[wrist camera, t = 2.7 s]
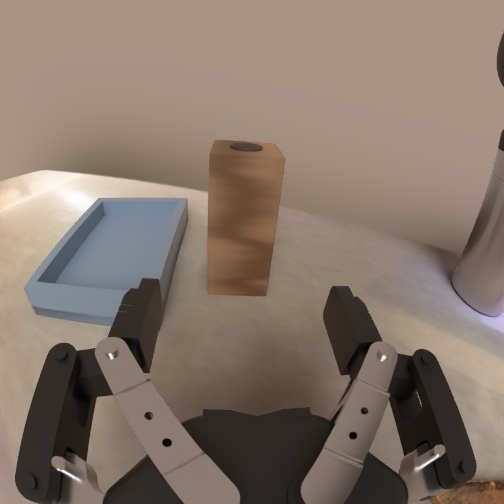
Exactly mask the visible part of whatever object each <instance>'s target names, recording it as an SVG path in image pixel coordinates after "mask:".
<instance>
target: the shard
mask: <svg viewBox="0 0 504 504" xmlns="http://www.w3.org/2000/svg"><path fill="white" fill-rule="evenodd" d="M431 500H432V502H433V503H434V504H504V481H503V482H502V481H468V482H466V483H464V484H462V485H460V486H458V487H455V488H453V489H451V490H449V491H447V492H444V493H442V494H440V495H437V496H435V497H432V498H431Z"/></svg>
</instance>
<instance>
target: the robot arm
mask: <svg viewBox="0 0 504 504" xmlns="http://www.w3.org/2000/svg"><path fill="white" fill-rule="evenodd" d="M497 71H498V76H499V78H500V81H501V83H502V85H503V87H504V33H503V35H502V38H501V41H500V44H499V48H498V54H497ZM498 147H499V149H498V150H497V155H496V159H495V163H494V166H493V170H492V174H491V177H490V181H489V184H488V187H487V191H486V194H485V197H484V200H483V203H482V206H481V208H480V211H479V214H478V217H477V219H476V222H475V224H474V227H473V230H472V232H471V234H470V237H469V239H468V242H467V244H466V246H465V249H464V251H463V253H462V255H461V258H460V260H459V262H458V264H457V266H456V268H455V270H454V272H453V274H452V278H451V280H452V284H453V286H454V288H455V290H456V291H457V293H458V294H459V295H460V296H461V298H462V299H463V300H464V301H466V302H467V303H468V304H469V305H470V306H471V307H473V308H474V309H476V310H477V311H479V312H481V313H483V314H486V315H489V316H499V315H501V314H502V313H503V311H504V130H503V131H502V133H501V137H500V141H499V146H498ZM162 311H163V305H162V297H161V290H160V283H159V279H154V278H142V279H141V282H140V284H139V287H138V289H137V288H131V289H130V290H129V291H128V292H127V293H126V294H125V295H124V296H123V299H122V301H121V305H120V306H119V309H118V312H117V314H116V317H115V319H114V322H113V324H112V327H111V330H110V332H109V335H108V338H105V339H103V340H102V341H100V342H99V343H98V345H97V346H96V348H93V349H87V350H80V351H76V349H75V348H74V347H73V346H72V345H71V344H69V343H60V344H57V345H55V346H54V347H52V348H51V349H50V351H49V353H48V355H47V358H46V360H45V363H44V366H43V369H42V371H41V374H40V377H39V380H38V383H37V386H36V389H35V392H34V396H33V399H32V402H31V406H30V409H29V413H28V416H27V420H26V424H25V428H24V432H23V437H22V441H21V446H20V451H19V456H18V461H17V467H16V474H15V482H16V486H17V488H18V490H19V492H20V493H21V494H22V495H23V496H24V497H25V498H26V499H28V500H30V501H33V502H35V503H38V504H409V503H412V502H414V501H417V500H421V501H424V500H427V499H430V498H432V497H435V496H437V495H440V494H442V493H444V492H447V491H449V490H451V489H453V488H455V487H458V486H460V485H462V484H464V483H466V482H468V481H469V480H471V479H472V478H473V476H474V474H475V472H476V460H475V457H474V453H473V450H472V447H471V444H470V441H469V438H468V435H467V432H466V429H465V426H464V423H463V421H462V418H461V415H460V413H459V410H458V407H457V405H456V402H455V400H454V397H453V395H452V393H451V390H450V388H449V385H448V383H447V381H446V378H445V376H444V374H443V372H442V369H441V367H440V365H439V363H438V361H437V359H436V357H435V356H434V355H433V354H432V353H431V352H430V351H428V350H425V349H419V350H417V351H416V352H415V353H414V354H413V355H412V356H408V355H403V354H398V353H397V352H396V350H395V349H394V348H393V347H392V346H391V345H390V344H388V343H386V342H383V341H382V339H381V337H380V334H379V332H378V330H377V328H376V326H375V324H374V322H373V320H372V318H371V316H370V314H369V313H368V312H369V311H368V309H367V307H366V305H365V304H364V303H363V302H362V301H361V300H360V299H359V298H358V297H354V296H353V294H352V292H351V290H350V288H349V287H348V286H333V287H332V288H331V290H330V293H329V296H328V299H327V302H326V305H325V308H324V312H323V319H324V324H325V327H326V330H327V333H328V336H329V339H330V342H331V345H332V348H333V352H334V355H335V358H336V361H337V365H338V368H339V371H340V374H341V375H350V378H351V379H350V380H349V382H348V384H347V386H346V388H345V390H344V392H343V394H342V396H341V398H340V400H339V402H338V404H337V406H336V407H335V409H334V411H333V413H332V414H331V416H330V417H329V419H328V420H327V419H325V418H323V417H320V416H317V415H313V414H310V409H309V407H307V408H295V409H283V410H280V411H276V412H273V413H269V414H265V415H261V416H254V415H249V414H244V413H240V412H236V411H231V410H209V409H203V416H198V417H195V418H191V419H189V420H187V421H185V422H183V423H180V422H179V421H178V419H177V418H176V417H175V415H174V414H173V412H172V411H171V410H170V408H169V407H168V405H167V404H166V403H165V401H164V400H163V398H162V397H161V395H160V394H159V392H158V391H157V389H156V388H155V386H154V385H153V383H152V382H151V381H150V380H149V379H147V378H146V376H145V375H144V373H150V369H151V364H152V359H153V354H154V349H155V345H156V340H157V335H158V331H159V327H160V322H161V318H162ZM416 392H418V395H419V398H420V400H421V403H422V407H421V404H420V401H419V398H418V396H417V393H416ZM108 395H114V397H115V399H116V401H117V403H118V405H119V407H120V409H121V411H122V413H123V414H124V416H125V418H126V420H127V421H128V423H129V425H130V427H131V428H132V430H133V432H134V433H135V435H136V437H137V438H138V440H139V441H140V443H141V445H142V446H143V448H144V449H145V451H146V452H147V455H146V456H145V457H144V458H143V459H142V460H141V461H140V462H139V463H137V464H136V465H135V466H134V467H133V468H132V469H131V470H130V471H129V472H127V473H126V474H125V475H124V476H123V477H122V478H121V479H120V480H118V481H117V482H116V483H115V484H114V485H113V486H111V487H110V488H109V490H108V491H107V492H106V494H104V493H103V492H102V491H101V489H100V487H99V485H98V480H97V474H96V472H95V470H94V468H93V467H92V466H91V465H90V464H88V463H87V462H86V460H87V452H88V445H89V438H90V431H91V425H92V419H93V414H94V408H95V403H96V398H97V397H100V396H108ZM388 400H389V401H390V405H391V408H392V411H393V415H394V418H395V422H396V426H397V429H398V433H399V437H400V441H401V445H402V449H403V453H404V458H403V459H402V461H401V465H400V469H399V474H397V473H396V472H395V471H393V470H392V469H391V468H389V467H388V466H387V465H385V464H384V463H383V462H381V461H380V460H379V459H377V458H376V457H375V456H374V455H372V454H371V453H370V452H368V451H369V448H370V446H371V444H372V442H373V439H374V437H375V434H376V432H377V429H378V427H379V424H380V422H381V419H382V417H383V414H384V411H385V408H386V406H387V403H388Z"/></svg>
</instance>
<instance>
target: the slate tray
mask: <svg viewBox="0 0 504 504" xmlns="http://www.w3.org/2000/svg"><path fill="white" fill-rule="evenodd" d="M187 222H188V205H187V199H185V198H98V199H97V200H96V201H95V202H94V204H93V205H92V206H91V207H90V208H89V209H88V210H87V211H86V212H85V213H84V214H83V215H82V216H81V217H80V218H79V220H78V221H77V222H76V223H75V224H74V225H73V226H72V227H71V229H70V230H69V231H68V232H67V233H66V234H65V235H64V237H63V238H62V239H61V240H60V241H59V243H58V244H57V245H56V246H55V247H54V249H53V250H52V251H51V252H50V254H49V255H48V256H47V257H46V259H45V260H44V261H43V262H42V264H41V265H40V266H39V268H38V269H37V270H36V272H35V273H34V274H33V276H32V277H31V278H30V280H29V281H28V283H27V284H26V285H25V287H24V290H25V292H26V294H27V296H28V299H29V301H30V303H31V305H32V307H33V309H34V311H35V313H36V314H38V315H43V316H49V317H54V318H60V319H66V320H73V321H79V322H86V323H93V324H100V325H108V326H112V324H113V322H114V319H115V317H116V314H117V312H118V309H119V306H120V305H121V301H122V299H123V296H124V295H125V294H126V293H127V292H128V291H129V290H130V289H131V288H137V289H138V287H139V284H140V282H141V279H142V278H154V279H159V283H160V290H161V297H162V305H163V311H164V307H165V303H166V299H167V295H168V291H169V287H170V283H171V279H172V275H173V271H174V267H175V264H176V260H177V256H178V253H179V249H180V246H181V242H182V239H183V235H184V232H185V228H186V225H187ZM163 311H162V316H163ZM161 320H162V318H161ZM160 324H161V322H160ZM159 329H160V327H159Z"/></svg>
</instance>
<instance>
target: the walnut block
mask: <svg viewBox="0 0 504 504" xmlns="http://www.w3.org/2000/svg"><path fill="white" fill-rule="evenodd" d="M284 165H285V157H284V156H283V154H282V153H281V151H280V150H279V148H278V147H277V145H276V144H271V143H260V142H246V141H228V140H215V141H214V143H213V146H212V149H211V152H210V162H209V192H208V294H213V295H242V296H266V291H267V285H268V278H269V272H270V265H271V258H272V252H273V245H274V238H275V231H276V224H277V217H278V210H279V203H280V196H281V188H282V180H283V174H284Z"/></svg>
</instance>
